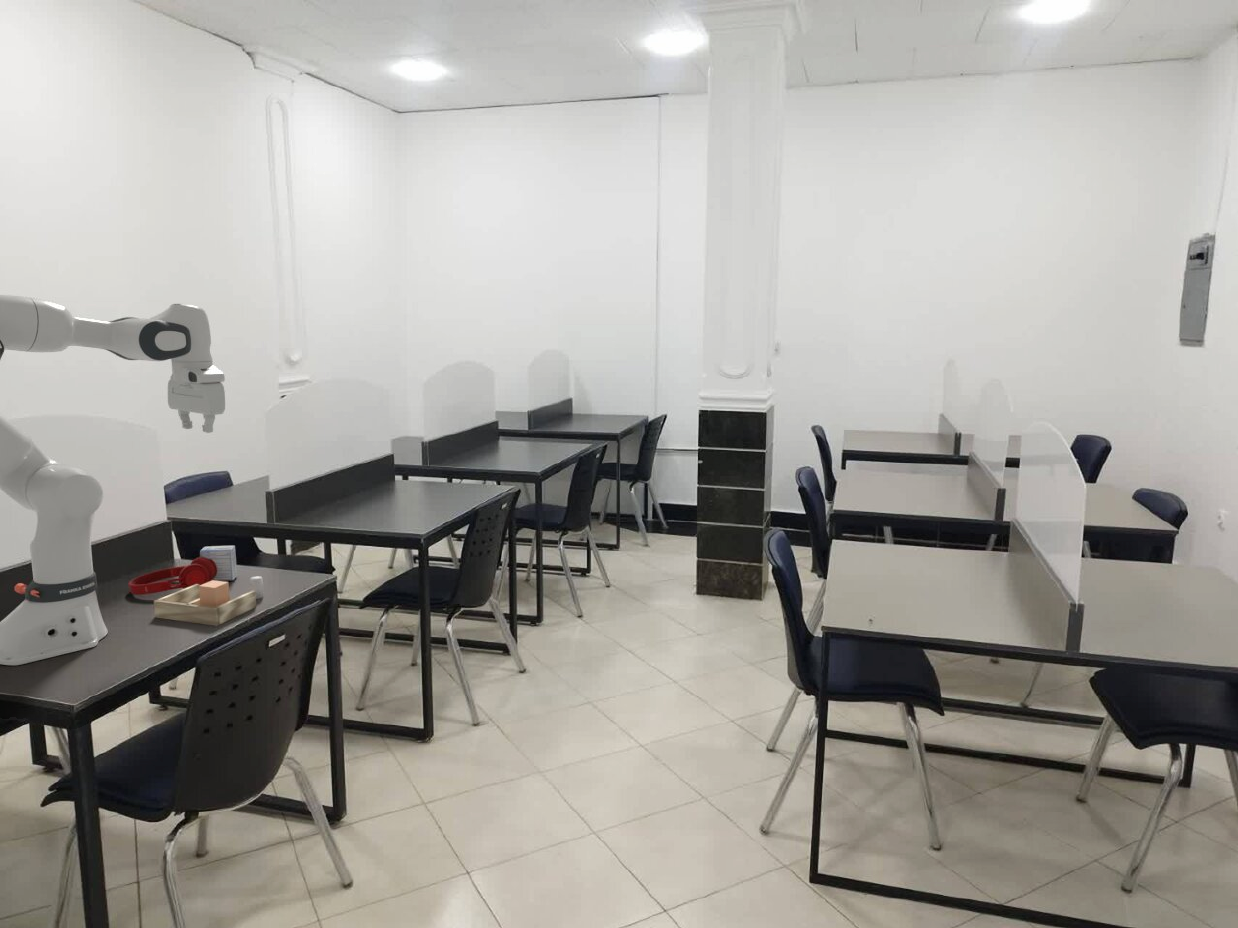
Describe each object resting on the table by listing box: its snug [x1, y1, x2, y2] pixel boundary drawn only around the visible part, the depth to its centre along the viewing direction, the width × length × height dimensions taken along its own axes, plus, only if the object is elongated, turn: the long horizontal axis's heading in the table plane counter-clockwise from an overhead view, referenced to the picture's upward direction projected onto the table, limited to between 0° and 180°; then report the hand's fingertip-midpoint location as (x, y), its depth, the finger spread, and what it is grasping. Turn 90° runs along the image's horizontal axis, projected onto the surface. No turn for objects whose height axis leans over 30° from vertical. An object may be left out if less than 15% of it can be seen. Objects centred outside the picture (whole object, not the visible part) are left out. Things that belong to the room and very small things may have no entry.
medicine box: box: [199, 545, 238, 582], centre depth 232 cm, size 8×4×9 cm, turn 101°
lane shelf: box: [153, 584, 257, 627], centre depth 209 cm, size 14×18×4 cm
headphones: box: [128, 556, 217, 596], centre depth 225 cm, size 15×7×20 cm
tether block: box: [199, 575, 264, 607], centre depth 212 cm, size 18×4×8 cm, turn 164°
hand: (197, 430), depth 210 cm, fingers open, 8 cm apart
